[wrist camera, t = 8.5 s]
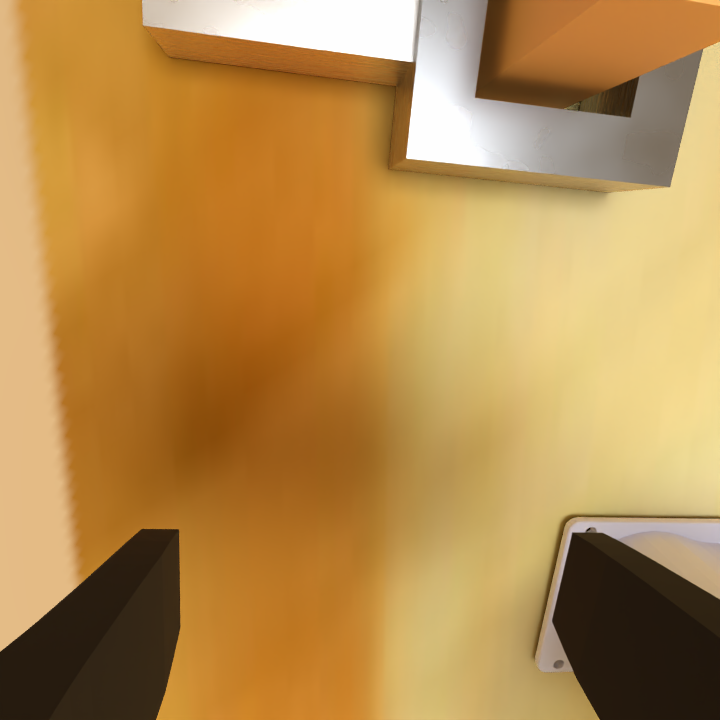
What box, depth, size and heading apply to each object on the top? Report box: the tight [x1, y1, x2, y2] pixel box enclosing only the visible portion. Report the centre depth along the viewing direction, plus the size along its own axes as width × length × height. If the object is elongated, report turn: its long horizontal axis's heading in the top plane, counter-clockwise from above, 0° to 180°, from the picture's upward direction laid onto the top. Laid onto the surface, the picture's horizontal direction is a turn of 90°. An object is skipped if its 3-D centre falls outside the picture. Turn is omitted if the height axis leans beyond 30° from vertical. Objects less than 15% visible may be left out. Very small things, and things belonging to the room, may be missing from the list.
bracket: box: [142, 0, 703, 193], centre depth 14 cm, size 15×8×3 cm, turn 85°
